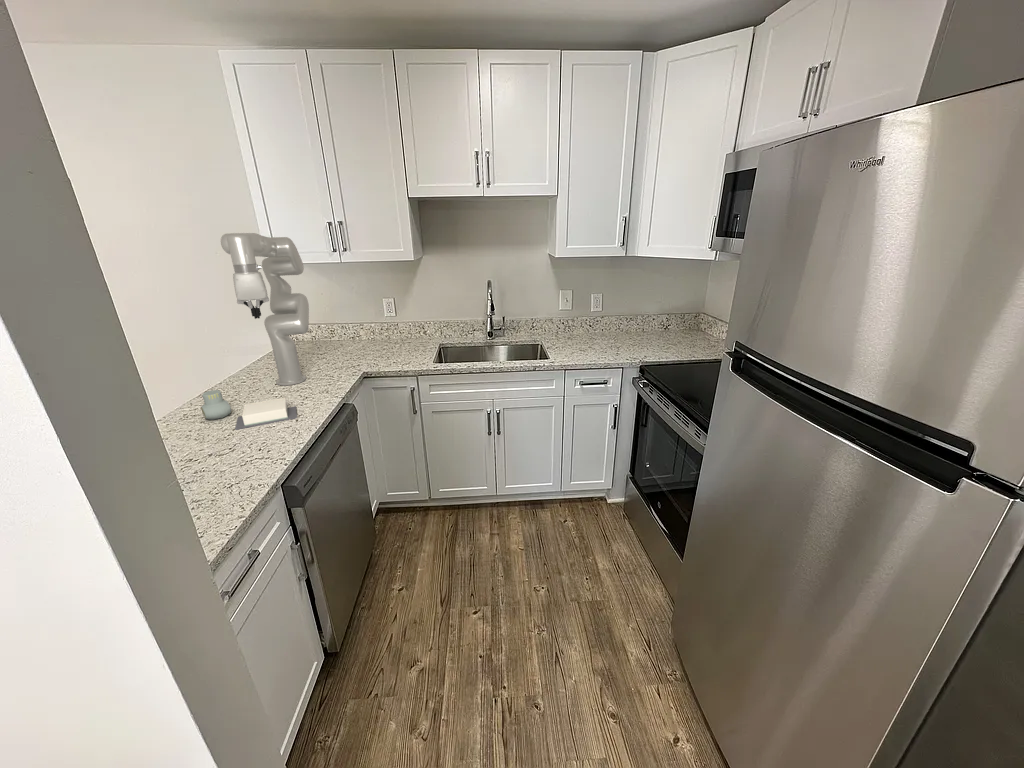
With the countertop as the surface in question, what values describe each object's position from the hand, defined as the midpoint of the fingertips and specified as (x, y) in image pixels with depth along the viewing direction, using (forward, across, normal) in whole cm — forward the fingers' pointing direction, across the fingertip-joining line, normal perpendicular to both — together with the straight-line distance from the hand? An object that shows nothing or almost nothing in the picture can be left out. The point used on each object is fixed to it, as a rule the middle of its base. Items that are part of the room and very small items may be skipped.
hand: (257, 317), depth 164 cm
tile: (+32, +3, +10) cm, 34 cm away
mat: (+35, +3, +17) cm, 39 cm away
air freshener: (+35, +20, +6) cm, 41 cm away
